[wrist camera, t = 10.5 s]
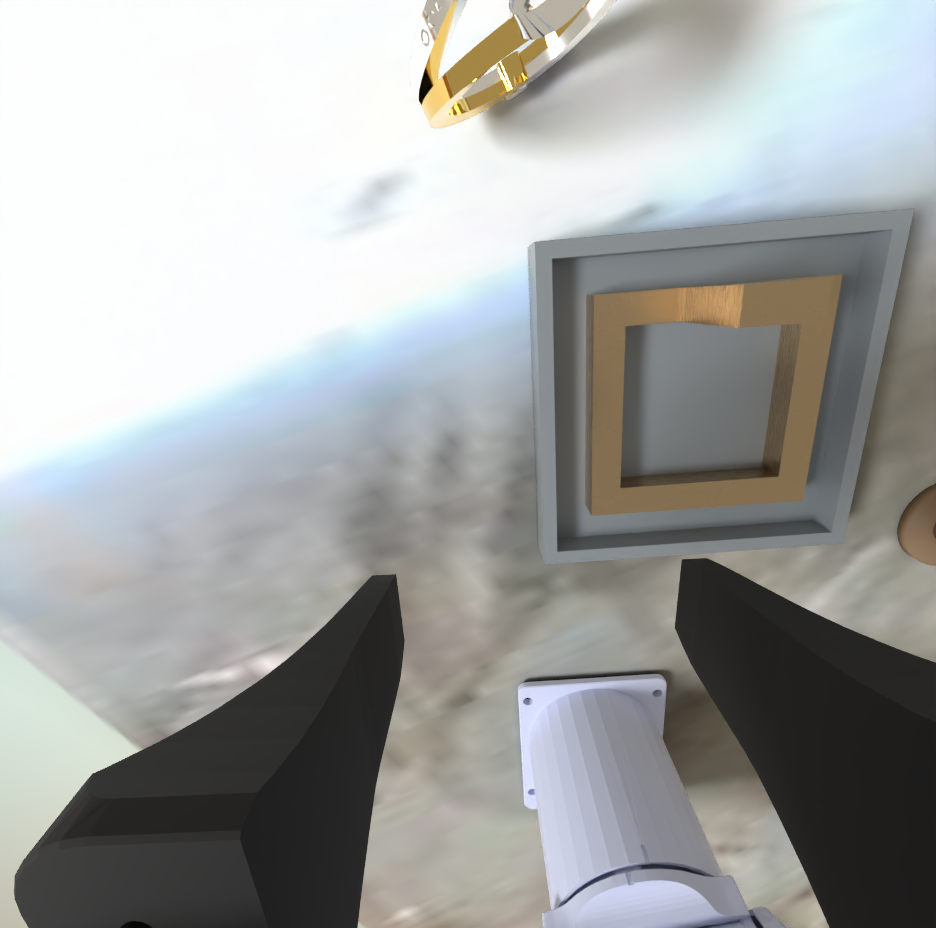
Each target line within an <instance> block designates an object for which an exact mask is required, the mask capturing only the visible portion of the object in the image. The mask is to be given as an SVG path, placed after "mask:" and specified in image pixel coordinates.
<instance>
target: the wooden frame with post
mask: <svg viewBox="0 0 936 928" xmlns="http://www.w3.org/2000/svg"><path fill="white" fill-rule="evenodd" d="M842 276H843V274H839V275H823V276H810V277H798V278H786V279H774V280H762V281H750V282H738V283H726V284H714V285H702V286H690V287H678V288H666V289H654V290H642V291H630V292H618V293H606V294H594V295H586V411H585V505H586V507H587V509H588V510H589V512H590V514H591V516H597V515H611V514H625V513H639V512H652V511H666V510H680V509H694V508H708V507H722V506H736V505H750V504H764V503H778V502H792V501H803V498H804V492H805V487H806V481H807V475H808V469H809V464H810V458H811V452H812V447H813V441H814V435H815V430H816V424H817V418H818V412H819V407H820V401H821V395H822V390H823V384H824V378H825V373H826V367H827V361H828V355H829V350H830V344H831V338H832V333H833V327H834V321H835V316H836V310H837V304H838V299H839V293H840V287H841V281H842ZM671 322H688V323H696V324H705V325H714V326H723V327H732V328H749V327H761V326H774V325H781V331H780V339H779V346H778V353H777V360H776V367H775V374H774V382H773V389H772V396H771V403H770V410H769V417H768V425H767V432H766V439H765V446H764V453H763V460H762V467H753V468H740V469H726V470H713V471H699V472H685V473H672V474H658V475H645V476H631V477H621V453H622V422H623V392H624V361H625V330H626V326H634V325H647V324H659V323H671Z"/></svg>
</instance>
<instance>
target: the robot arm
mask: <svg viewBox="0 0 936 928" xmlns="http://www.w3.org/2000/svg"><path fill="white" fill-rule="evenodd" d="M675 629H676V631H677V634H678V636H679V638H680V641H681V643H682V645H683V648H684V650H685V652H686V654H687V656H688V658H689V660H690V663H691V665H692V666H693V668H694V670H695V671H696V673H697V675H698V676H699V678H700V680H701V681H702V683H703V685H704V686H705V688H706V690H707V691H708V693H709V694H710V696H711V698H712V699H713V701H714V702H715V704H716V706H717V707H718V709H719V711H720V712H721V714H722V715H723V717H724V719H725V720H726V722H727V723H728V725H729V727H730V728H731V730H732V731H733V733H734V735H735V736H736V738H737V739H738V741H739V743H740V744H741V746H742V747H743V749H744V751H745V752H746V754H747V756H748V758H749V759H750V761H751V763H752V765H753V766H754V768H755V770H756V772H757V774H758V776H759V778H760V780H761V782H762V784H763V786H764V788H765V790H766V792H767V794H768V796H769V798H770V800H771V802H772V804H773V806H774V808H775V810H776V812H777V814H778V816H779V818H780V820H781V822H782V824H783V826H784V828H785V830H786V832H787V835H788V837H789V839H790V841H791V843H792V845H793V847H794V849H795V852H796V854H797V856H798V858H799V860H800V862H801V864H802V866H803V869H804V871H805V873H806V875H807V877H808V880H809V882H810V884H811V886H812V889H813V891H814V893H815V895H816V898H817V900H818V902H819V905H820V907H821V909H822V911H823V914H824V916H825V918H826V920H827V923H828V925H829V927H830V928H936V663H935V662H932V661H929V660H926V659H923V658H920V657H918V656H915V655H912V654H909V653H907V652H904V651H901V650H899V649H896V648H894V647H891V646H889V645H886V644H884V643H881V642H879V641H876V640H874V639H871V638H869V637H867V636H864V635H862V634H859V633H857V632H855V631H852V630H850V629H848V628H845V627H843V626H841V625H839V624H837V623H835V622H832V621H830V620H828V619H826V618H824V617H822V616H820V615H818V614H815V613H813V612H811V611H809V610H807V609H805V608H803V607H801V606H799V605H797V604H795V603H793V602H791V601H789V600H787V599H785V598H783V597H781V596H780V595H778V594H776V593H774V592H772V591H770V590H768V589H766V588H764V587H762V586H761V585H759V584H757V583H755V582H753V581H751V580H749V579H747V578H746V577H744V576H742V575H740V574H738V573H736V572H734V571H732V570H730V569H728V568H726V567H725V566H722V565H720V564H718V563H716V562H714V561H712V560H709V559H707V558H702V559H683V560H682V564H681V573H680V583H679V593H678V602H677V612H676V622H675ZM403 650H404V633H403V626H402V618H401V610H400V602H399V594H398V586H397V579H396V574H395V575H375V576H371V577H370V578H369V580H368V581H367V582H366V583H365V584H364V585H363V586H362V587H361V588H360V589H359V590H358V591H357V592H356V593H355V594H354V596H353V597H352V598H351V599H350V600H349V601H348V602H347V603H346V604H345V605H344V606H343V607H342V608H341V609H340V610H339V611H338V613H337V614H336V615H335V616H334V617H333V618H332V619H331V620H330V621H329V622H328V623H327V624H326V625H325V626H324V627H323V628H322V629H320V630H319V631H318V632H317V633H316V634H315V635H314V636H313V637H312V638H311V639H310V640H309V641H308V642H306V643H305V644H304V645H303V646H302V647H301V648H300V649H299V650H298V651H296V652H295V653H294V654H293V655H292V656H291V657H289V658H288V659H287V660H286V661H284V662H283V663H282V664H281V665H279V666H278V667H277V668H275V669H274V670H273V671H272V672H270V673H269V674H268V675H266V676H265V677H264V678H262V679H261V680H259V681H258V682H257V683H255V684H254V685H252V686H251V687H249V688H248V689H246V690H245V691H243V692H242V693H240V694H239V695H237V696H236V697H234V698H233V699H231V700H230V701H228V702H227V703H225V704H224V705H222V706H221V707H219V708H218V709H216V710H214V711H213V712H211V713H209V714H208V715H206V716H204V717H203V718H201V719H199V720H198V721H196V722H194V723H192V724H191V725H189V726H187V727H185V728H183V729H182V730H180V731H178V732H176V733H174V734H173V735H171V736H169V737H167V738H165V739H163V740H161V741H160V742H158V743H156V744H154V745H152V746H150V747H148V748H146V749H144V750H141V751H139V752H137V753H135V754H133V755H131V756H129V757H127V758H125V759H123V760H121V761H119V762H117V763H115V764H113V765H111V766H109V767H107V768H105V769H102V770H100V771H98V772H96V773H93V774H92V775H91V776H90V777H89V779H88V780H87V781H86V782H85V784H84V785H83V786H82V787H81V789H80V790H79V791H78V792H77V794H76V795H75V796H74V797H73V799H72V800H71V801H70V802H69V804H68V805H67V806H66V807H65V809H64V810H63V811H62V812H61V814H60V815H59V816H58V817H57V819H56V820H55V821H54V822H53V824H52V825H51V826H50V827H49V829H48V830H47V831H46V832H45V834H44V835H43V836H42V838H41V839H40V840H39V842H38V843H37V844H36V845H35V846H34V848H33V849H32V850H31V851H30V853H29V854H28V855H27V856H26V858H25V859H24V860H23V862H22V864H21V865H20V867H19V869H18V871H17V873H16V875H15V887H14V895H15V900H16V903H17V905H18V908H19V911H20V913H21V916H22V917H23V919H24V920H25V922H26V924H27V926H28V927H29V928H357V926H358V917H359V909H360V900H361V891H362V883H363V876H364V868H365V860H366V852H367V845H368V837H369V830H370V823H371V815H372V808H373V801H374V794H375V787H376V782H377V777H378V772H379V767H380V763H381V759H382V754H383V750H384V746H385V742H386V738H387V733H388V729H389V725H390V721H391V716H392V712H393V708H394V704H395V699H396V695H397V691H398V686H399V682H400V677H401V668H402V660H403ZM655 690H657V691H655ZM666 690H667V683H666V680H665V678H664V677H663V676H662V675H660V674H647V675H631V676H615V677H600V678H584V679H568V680H553V681H537V682H525V683H522V684H521V685H520V686H519V687H518V703H519V720H520V738H521V755H522V773H523V791H524V803H525V806H526V807H527V808H529V809H538V816H539V824H540V831H541V838H542V845H543V853H544V860H545V867H546V875H547V882H548V889H549V896H550V904H551V910H550V911H546V912H544V913H543V914H542V918H543V927H544V928H790V927H789V926H788V925H787V924H785V923H784V922H783V921H781V920H780V919H778V918H777V917H776V916H775V915H774V914H773V913H772V912H771V911H770V910H769V909H768V908H766V907H763V906H760V907H757V908H754V909H750V910H748V909H747V906H746V904H745V902H744V900H743V898H742V896H741V893H740V891H739V889H738V887H737V885H736V883H735V880H734V878H733V877H732V876H730V875H727V876H723V874H722V872H721V870H720V868H719V865H718V863H717V861H716V859H715V856H714V854H713V852H712V849H711V847H710V845H709V843H708V840H707V838H706V836H705V834H704V831H703V829H702V827H701V825H700V822H699V820H698V818H697V816H696V813H695V811H694V809H693V807H692V804H691V802H690V800H689V798H688V795H687V793H686V791H685V789H684V786H683V784H682V782H681V779H680V777H679V775H678V773H677V770H676V768H675V766H674V764H673V761H672V759H671V757H670V755H669V752H668V750H667V748H666V746H665V743H664V741H663V728H664V715H665V703H666ZM525 698H530V699H525Z"/></svg>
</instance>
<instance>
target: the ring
mask: <svg viewBox="0 0 936 928" xmlns="http://www.w3.org/2000/svg"><path fill="white" fill-rule="evenodd" d="M466 2H467V0H427V2H426V5H425V8H424V11H423V14H422V17H421V20H420V23H419V26H418V30H417V34H416V37H415V42H414V46H413V51H412V56H411V62H410V83H411V86H412V89H413V91H414V93H415V96H416V98H417V100H418V102H419V105H420V107H421V108H422V110H423V112H424V114H425V116H426V118H427V120H428V122H429V124H430V126H431V127H432V128H443V127H447V126H451V125H454V124H457V123H459V122H462V121H464V120H466V119H469V118H471V117H473V116H475V115H477V114H479V113H481V112H483V111H485V110H486V109H488V108H490V107H492V106H494V105H495V104H497V103H499V102H501V101H502V100H504V99H506V100H509V99H511V98H513V97H515V96H517V95H518V94H520V93H521V92H522V91H524V90H525V89H526V88H527V85H528V84H529V83H530V82H532V81H533V80H535V79H536V78H537V77H539V76H540V75H541V74H543V73H544V72H545V71H546V70H548V69H549V68H550V67H551V66H553V65H554V64H555V63H556V62H557V61H559V60H560V59H561V58H562V57H563V56H564V55H565V54H567V53H568V52H569V51H570V50H571V49H572V48H573V47H574V46H575V45H576V44H577V43H578V42H580V41H581V40H582V39H583V38H584V37H585V36H586V35H587V34H588V33H589V32H590V31H591V30H592V29H593V27H594V26H595V25H596V24H597V23H598V22H599V21H600V20H601V19H602V18H603V17H604V16H605V14H606V13H607V12H608V11H609V10H610V9H611V8H612V6H613V5H614V4H615V3H616V2H617V0H546V1H545V2H544V3H542V4H541V5H539V6H535V7H533V6H531V5H530V4H529V2H530V0H509V9H510V19H509V20H508V21H506V22H505V23H504V24H503V25H501V26H500V27H499V28H498V29H496V30H495V31H494V32H493V33H491V34H490V35H489V36H488V37H486V38H485V39H484V40H483V41H482V42H480V43H479V44H478V45H477V46H476V47H474V48H473V49H472V50H471V51H470V52H469V53H467V54H466V55H465V56H464V57H463V58H462V59H461V60H459V61H458V62H457V63H456V64H455V65H454V66H453V67H452V68H451V69H450V70H449V71H447V72H446V73H445V74H444V75H443V76H442V77H441V78H440V79H439V81H438V77H439V74H440V70H441V67H442V63H443V60H444V57H445V54H446V51H447V49H448V46H449V43H450V40H451V38H452V35H453V33H454V30H455V28H456V25H457V23H458V21H459V18H460V16H461V14H462V11H463V9H464V7H465V5H466ZM533 39H536V40H535V41H534V42H533V43H532V44H531V45H529V46H528V47H527V48H526V49H524V50H523V51H522V52H520V53H519V51H516V52H514V53H512V54H510V53H511V52H513V51H514V50H516V49H517V48H518V47H520V46H521V45H523V44H524V43H525V42H527V41H528V40H533ZM509 54H510V55H509ZM507 55H509V56H507ZM506 56H507V57H506ZM504 57H506V58H504ZM503 58H504V59H503ZM502 59H503V60H502ZM500 60H502V61H500ZM499 61H500V62H499ZM497 62H499V63H498V64H497V69H495V70H493V71H492V72H490V73H488V74H486V75H485V76H483V75H484V74H485V73H486V72H487V71H488V70H489V69H490V68H491V67H492V66H493V65H495V64H496V63H497ZM482 76H483V77H482Z"/></svg>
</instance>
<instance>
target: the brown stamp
mask: <svg viewBox="0 0 936 928" xmlns="http://www.w3.org/2000/svg"><path fill="white" fill-rule="evenodd" d="M898 540H899V543H900V545H901V547H902V549H903V550H904V551H905V552H906V553H907V554H908V555H910V556H912V557H913V558H915V559H917V560H919V561H920V562H922V563H925V564H928V565H932V566H936V484H935V485H933V486H931V487H929V488H927V489H926V490H924V491H923V492H921V493H920V494H919V495H918V496H917V497H915V498H914V499H913V500H912V502H911V503H910V504H909V505H908V506H907V508H906V509H905V511H904V512H903V514H902V516H901V518H900V521H899V525H898Z"/></svg>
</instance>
